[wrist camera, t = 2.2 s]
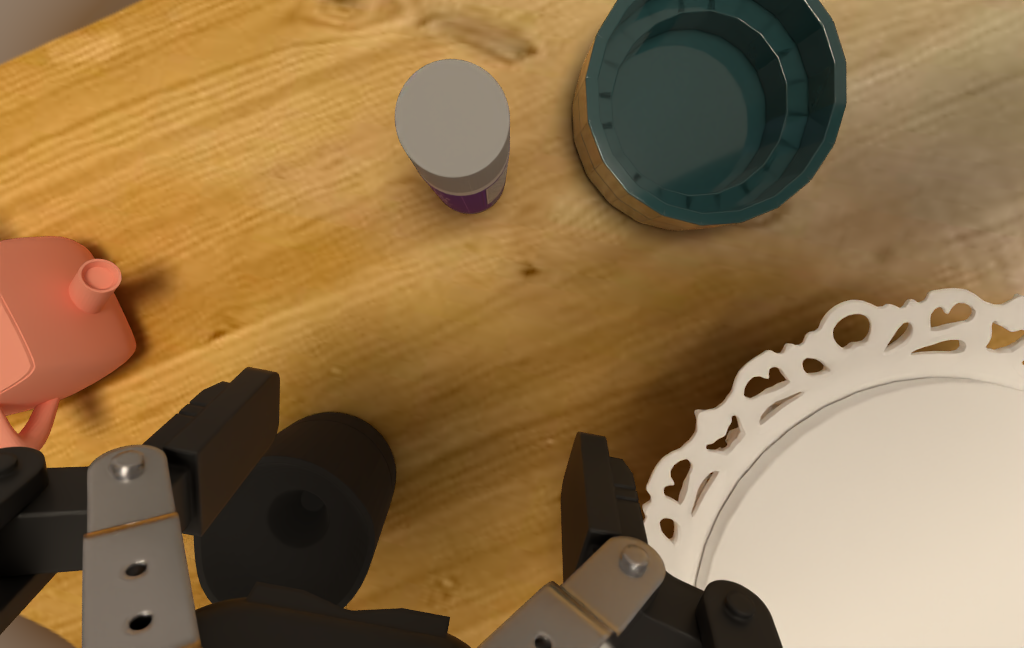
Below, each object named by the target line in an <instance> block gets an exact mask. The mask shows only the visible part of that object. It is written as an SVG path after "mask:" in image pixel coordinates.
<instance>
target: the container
mask: <svg viewBox="0 0 1024 648" xmlns="http://www.w3.org/2000/svg"><path fill="white" fill-rule="evenodd" d="M395 126H396V131H397V135H398V138H399V141H400V143H401V145H402V147H403V149H404V150H405V152H406V153H407V155H408V156H409V158H410V160H411V161H412V163H413V164H414V166H415V167H416V169H417V170H418V172H419V174H420V175H421V176H422V178H423V179H424V180H425V181H426V182H427V183H428V185H429V186H430V187H431V188H432V189H433V190H434V192H435V193H436V194H437V195H438V196H439V197H440V199H441V200H442V201H443V202H444V203H445V204H446V205H447V206H449V207H450V208H452V209H453V210H455V211H458V212H461V213H466V214H474V213H479V212H482V211H485V210H487V209H488V208H490V207H491V206H493V205H494V204H495V203H496V202H497V200H498V199H499V198H500V196H501V194H502V192H503V189H504V186H505V180H506V173H507V166H508V159H509V151H510V113H509V107H508V103H507V100H506V97H505V95H504V92H503V90H502V89H501V87H500V85H499V84H498V83H497V81H496V80H495V79H494V78H493V77H492V76H491V75H490V74H489V73H488V72H487V71H485V70H484V69H482V68H481V67H479V66H477V65H475V64H473V63H470V62H467V61H464V60H458V59H445V60H439V61H435V62H432V63H430V64H427V65H425V66H424V67H422V68H420V69H419V70H418V71H416V72H415V73H414V74H413V75H412V76H411V77H410V78H409V79H408V81H407V82H406V83H405V85H404V86H403V88H402V90H401V92H400V94H399V97H398V100H397V103H396V109H395Z"/></svg>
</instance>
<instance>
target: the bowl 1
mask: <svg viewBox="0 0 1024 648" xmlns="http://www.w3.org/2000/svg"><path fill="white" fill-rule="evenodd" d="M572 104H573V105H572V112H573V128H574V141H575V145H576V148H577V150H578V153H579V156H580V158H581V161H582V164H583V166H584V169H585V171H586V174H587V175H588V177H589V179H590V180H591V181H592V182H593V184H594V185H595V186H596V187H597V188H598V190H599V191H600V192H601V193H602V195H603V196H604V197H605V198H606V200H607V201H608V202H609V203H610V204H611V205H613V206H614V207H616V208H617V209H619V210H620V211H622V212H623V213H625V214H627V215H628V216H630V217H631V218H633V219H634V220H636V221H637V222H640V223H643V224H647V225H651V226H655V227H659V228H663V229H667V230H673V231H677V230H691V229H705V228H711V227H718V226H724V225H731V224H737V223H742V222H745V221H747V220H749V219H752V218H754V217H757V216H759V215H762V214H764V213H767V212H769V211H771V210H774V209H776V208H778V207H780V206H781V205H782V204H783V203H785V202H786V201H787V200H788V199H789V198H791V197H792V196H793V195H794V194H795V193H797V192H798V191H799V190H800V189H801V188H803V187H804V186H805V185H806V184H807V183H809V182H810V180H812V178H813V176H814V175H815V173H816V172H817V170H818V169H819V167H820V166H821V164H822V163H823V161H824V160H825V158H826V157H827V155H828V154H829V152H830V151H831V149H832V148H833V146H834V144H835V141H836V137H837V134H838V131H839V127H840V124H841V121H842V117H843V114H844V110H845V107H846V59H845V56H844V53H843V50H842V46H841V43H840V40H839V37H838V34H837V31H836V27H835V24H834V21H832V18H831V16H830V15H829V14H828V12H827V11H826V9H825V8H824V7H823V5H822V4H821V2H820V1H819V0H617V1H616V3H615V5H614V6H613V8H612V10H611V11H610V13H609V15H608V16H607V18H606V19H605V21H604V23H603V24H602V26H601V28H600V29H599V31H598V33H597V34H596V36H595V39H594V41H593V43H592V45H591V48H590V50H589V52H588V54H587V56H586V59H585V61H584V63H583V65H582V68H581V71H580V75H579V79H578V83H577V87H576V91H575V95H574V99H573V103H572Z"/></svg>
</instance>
